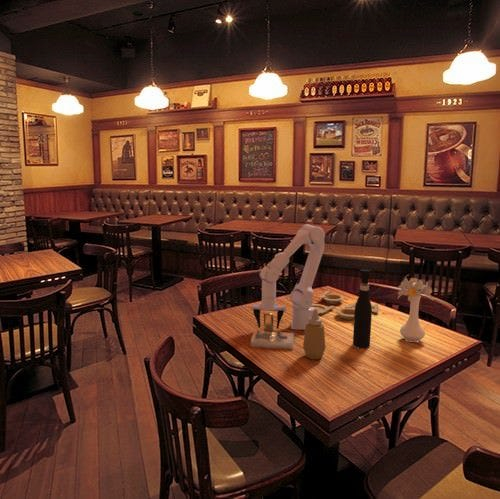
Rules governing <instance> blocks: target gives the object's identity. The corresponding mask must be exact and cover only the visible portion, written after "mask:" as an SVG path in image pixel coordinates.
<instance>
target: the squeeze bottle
mask: <svg viewBox="0 0 500 499" xmlns="http://www.w3.org/2000/svg"><path fill="white" fill-rule="evenodd" d="M322 323H323V319H322V318H321V317H320V316H319V314H318V311H317V309H314V311H313V315H312V317H310V318H309V323H308V324H307V325H306V328H305V330H304V336H303V346H302V347H303V351H304V354H305V356H306V358H308V359H310V360H320V359H322V358H323V355H324V354H325V352H326V351H325V350H326V346H327V345H326V335H325V333H326V331H325V326H324V325H323V324H322Z"/></svg>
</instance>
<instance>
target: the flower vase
mask: <svg viewBox="0 0 500 499" xmlns="http://www.w3.org/2000/svg"><path fill="white" fill-rule="evenodd" d="M397 289H400V290H399V291H398V292H397V295H398V296H397V299H399V298H401V296H407V301H408V302H410V306H409V309H410V310H409V313H408V314H409V315H408V319H407V321H406V322H405V323H404V324H403V325H402V326H401V327H400V329H399V333H400V335H401V336H402V337H403V340H404V339H405V340H407V341H411V342H417V341H420V342H421V340H422V339H423V338H424V337H425V335H426V331H425V328H423V326H422V325H421V324H420V321H419V304H420V301H421V300H420V299H421V298H422V294H424V295H425V296H427V297H428V298H429V299H431V300H432V301H434V298H433V295H431V294H432V293H433V289H432V287H431V285H429V282H428V280H427V281H426V282H425V284H424V282H423V280H422V279H418V278H416V277H411V278H410V279H409V280H408V278H406V277H405V278H404V279H403V281H401V282H400V284H399V285H398V286H397ZM405 340H404V341H405ZM407 341H406V342H407Z"/></svg>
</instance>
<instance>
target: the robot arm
mask: <svg viewBox="0 0 500 499" xmlns="http://www.w3.org/2000/svg"><path fill="white" fill-rule="evenodd" d="M325 236H326V233H325V231H324V229H323V228H322V227H320V226H318V225H317V226H315V225H312V224H308V223H305V224H303V225H302V226H301V227H300V228H299V229H298V230H297V232H296V235H295V236H294V237H293V238H292V240H291V241H290V242H289V244H288V245H287V246H286V247H285V249H284V250H283V252H282V251H281V252H278V253H275V255H274V258H272V260H271V261H270V262H268V263H267V265H266V266H264V267H262V268H261V270H260V272H259V277H260V279H261V304H259V303H258V304H251V305H250V311H253V312H252V313H253V315H254V317H255V318H254V319H255V320H256V322H257V328H259V329H261V311H263V312H277V313H276V329H277V330H278V329H279V326H280V322H281V321H282V320H281V319H282V317H283V316H284V313H287V305H280V304H277V300H276V299H277V281H278V280H279V278H280V274H281V272H282V271H283V270H284V268H286V266H287V265H288V264H289V263H290V257H291V256H292V255H293V254H295V252H296V251H298V249H300V247H301V246H303V245H306V244H308V246H309V247H310V249H309V252H308V256H307V258H306V261H305V264H304V267H303V271H302V274H301V276H300V280H299V283H297V284H296V285H295V286H294V288H293V289H292V291H291V292H290V294H289V300H290V301H291V303H292V305H291V306H292V309H291V310H292V316H291V318H292V321H291V324H290V329H291V330H302V331H305V328H306V325H307V324H308V323H309V318H310V317H312V315H313V311H314V308H313V307H311V305H312V304H314V303H313V302H314V299H313V297H314V291H313V288H312V287H313V285H314V281H315V278H316V275H317V272H318V269H319V266H320V263H321V260H322V257H323V253H324V250H325V238H326V237H325Z"/></svg>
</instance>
